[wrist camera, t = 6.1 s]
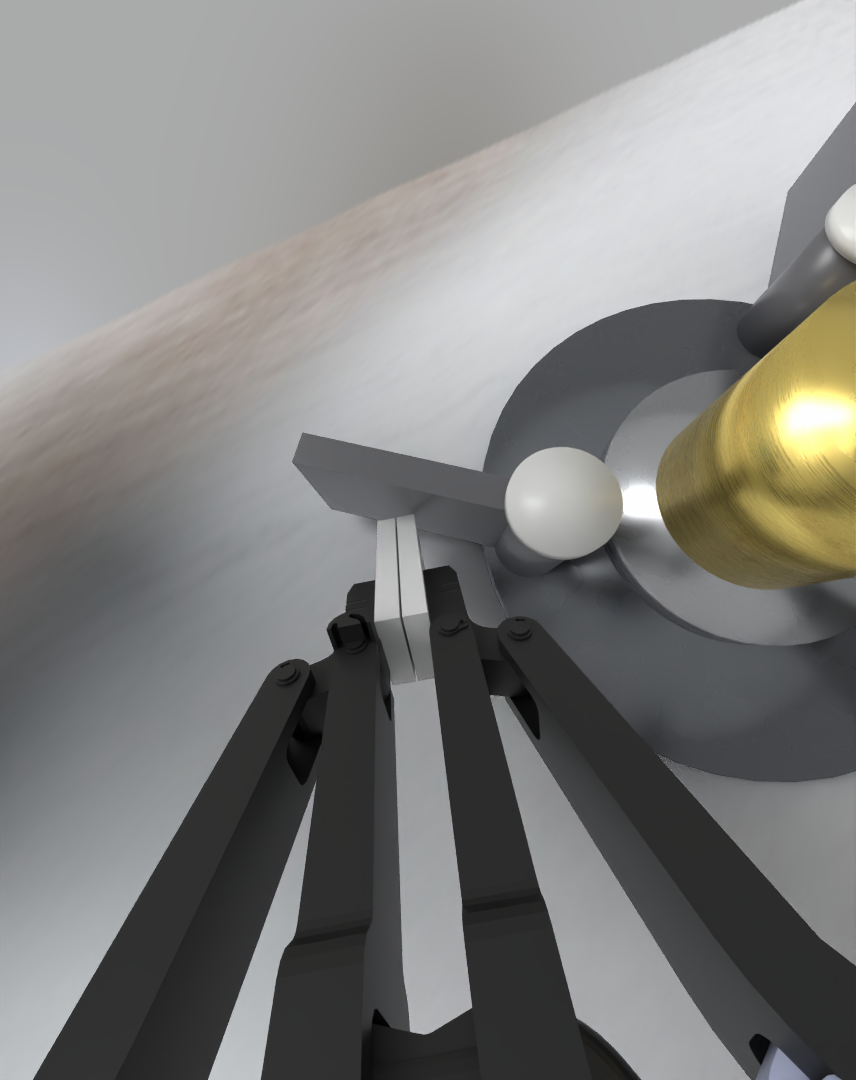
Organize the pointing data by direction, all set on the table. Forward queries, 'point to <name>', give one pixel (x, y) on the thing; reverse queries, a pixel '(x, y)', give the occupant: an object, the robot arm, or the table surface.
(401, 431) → the table surface
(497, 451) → the tribrach
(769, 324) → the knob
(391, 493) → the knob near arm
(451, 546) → the table surface
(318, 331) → the table surface
